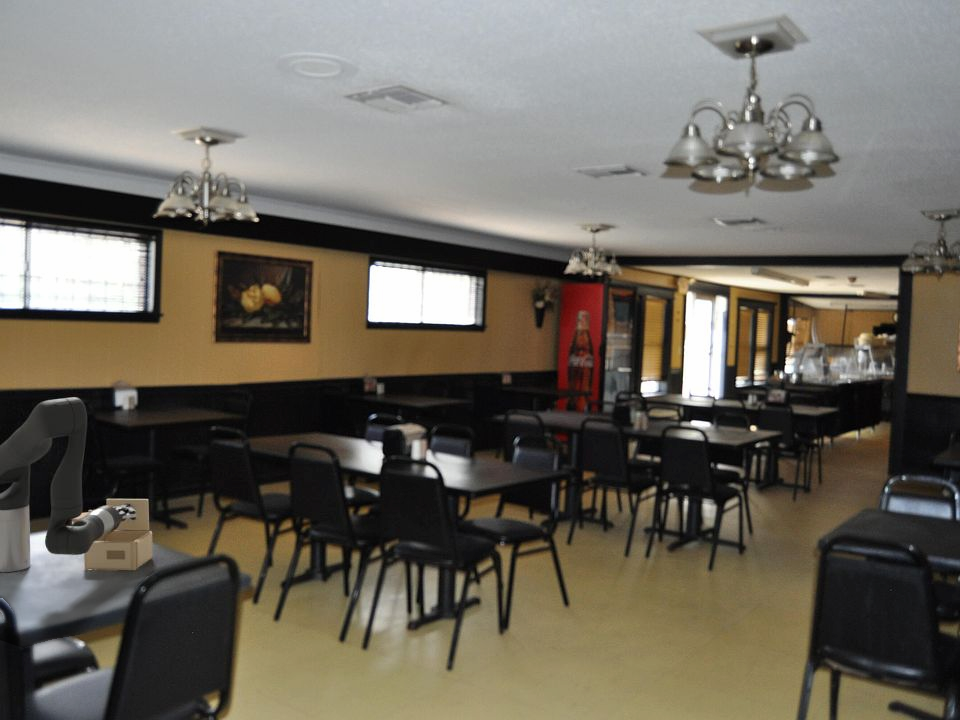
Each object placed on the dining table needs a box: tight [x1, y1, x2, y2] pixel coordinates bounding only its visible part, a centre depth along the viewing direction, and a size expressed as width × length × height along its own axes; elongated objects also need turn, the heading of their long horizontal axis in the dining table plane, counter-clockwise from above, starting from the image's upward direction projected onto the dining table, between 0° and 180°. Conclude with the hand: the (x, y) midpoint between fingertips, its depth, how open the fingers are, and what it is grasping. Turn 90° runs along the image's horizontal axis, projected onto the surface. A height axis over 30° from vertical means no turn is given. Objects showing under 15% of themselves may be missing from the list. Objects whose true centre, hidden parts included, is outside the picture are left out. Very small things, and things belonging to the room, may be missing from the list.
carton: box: [83, 530, 153, 571], centre depth 243 cm, size 15×13×8 cm
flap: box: [105, 498, 150, 531], centre depth 249 cm, size 12×1×9 cm, turn 89°
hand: (127, 507), depth 249 cm, fingers closed
